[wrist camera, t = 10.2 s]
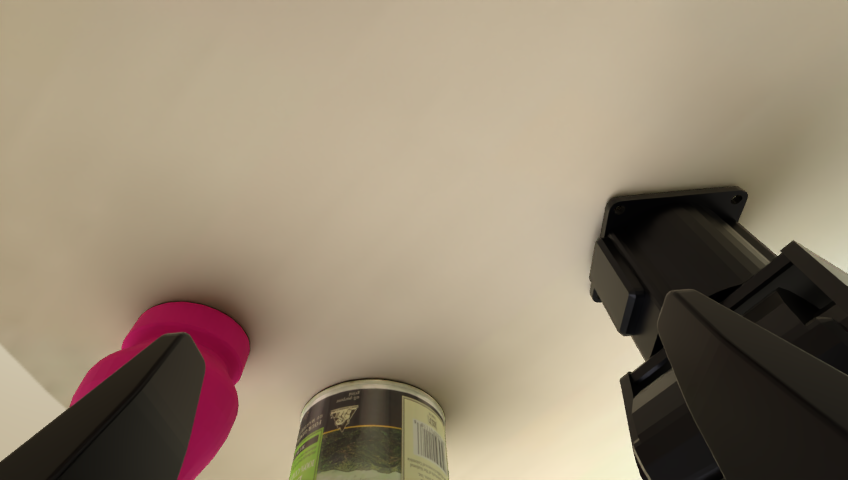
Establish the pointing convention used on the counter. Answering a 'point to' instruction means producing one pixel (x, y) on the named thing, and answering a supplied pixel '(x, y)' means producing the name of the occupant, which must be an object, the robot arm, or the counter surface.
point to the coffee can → (371, 434)
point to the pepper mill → (224, 368)
